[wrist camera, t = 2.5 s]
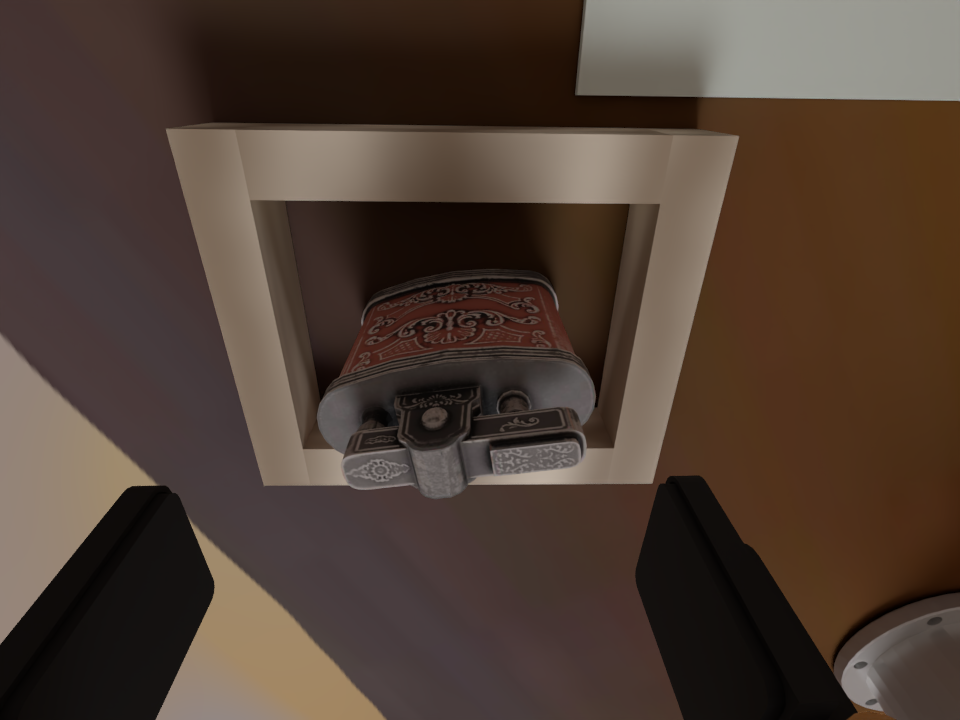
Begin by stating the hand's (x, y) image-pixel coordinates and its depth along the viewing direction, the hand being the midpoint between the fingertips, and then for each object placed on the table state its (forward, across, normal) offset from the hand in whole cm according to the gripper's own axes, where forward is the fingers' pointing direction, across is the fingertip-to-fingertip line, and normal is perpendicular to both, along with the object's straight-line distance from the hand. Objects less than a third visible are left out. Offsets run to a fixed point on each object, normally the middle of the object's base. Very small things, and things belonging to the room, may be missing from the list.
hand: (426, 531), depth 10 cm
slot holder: (+12, -1, +1) cm, 12 cm away
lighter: (+12, -1, +1) cm, 12 cm away
